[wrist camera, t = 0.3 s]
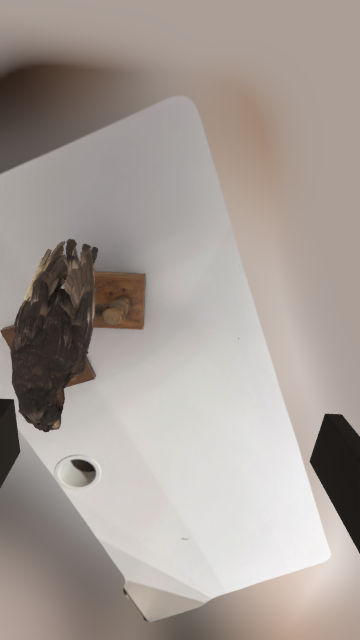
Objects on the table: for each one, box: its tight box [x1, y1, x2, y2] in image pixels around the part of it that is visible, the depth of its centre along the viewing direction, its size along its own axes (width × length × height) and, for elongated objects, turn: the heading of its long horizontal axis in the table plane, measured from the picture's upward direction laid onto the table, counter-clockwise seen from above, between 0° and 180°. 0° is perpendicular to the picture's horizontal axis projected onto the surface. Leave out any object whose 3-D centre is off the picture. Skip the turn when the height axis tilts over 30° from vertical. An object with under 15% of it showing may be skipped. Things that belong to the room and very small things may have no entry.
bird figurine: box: [11, 239, 145, 432], centre depth 34 cm, size 11×14×25 cm
